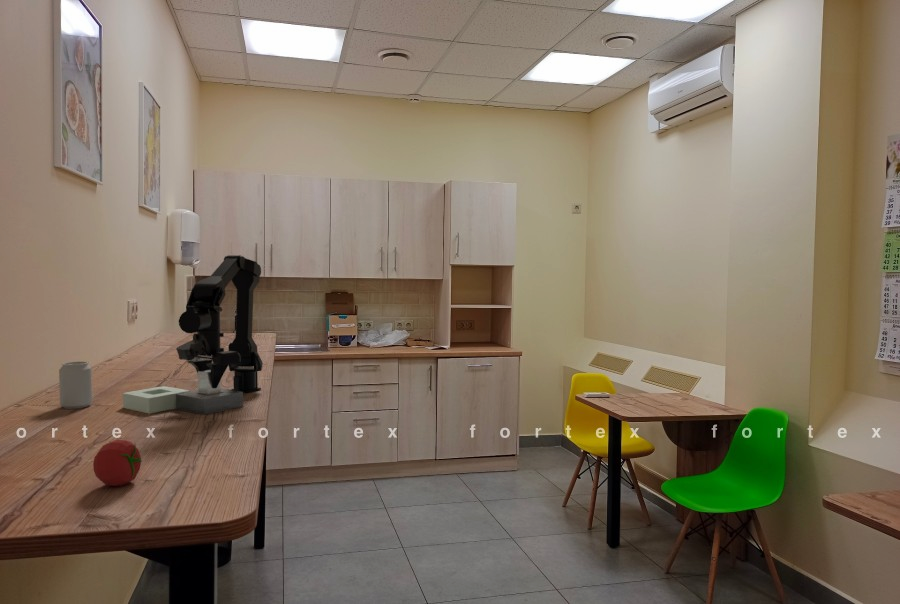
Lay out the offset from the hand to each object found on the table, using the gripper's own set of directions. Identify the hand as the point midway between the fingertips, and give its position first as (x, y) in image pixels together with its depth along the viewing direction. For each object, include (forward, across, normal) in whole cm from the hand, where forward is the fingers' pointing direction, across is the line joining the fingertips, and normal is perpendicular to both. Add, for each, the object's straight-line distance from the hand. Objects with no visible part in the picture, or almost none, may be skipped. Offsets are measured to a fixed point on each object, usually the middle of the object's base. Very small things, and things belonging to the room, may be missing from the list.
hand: (209, 387), depth 167 cm
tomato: (+6, +38, -46) cm, 60 cm away
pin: (+6, 0, 0) cm, 6 cm away
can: (+6, -31, -19) cm, 37 cm away
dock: (+6, -13, -7) cm, 16 cm away
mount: (+6, 0, 0) cm, 6 cm away
